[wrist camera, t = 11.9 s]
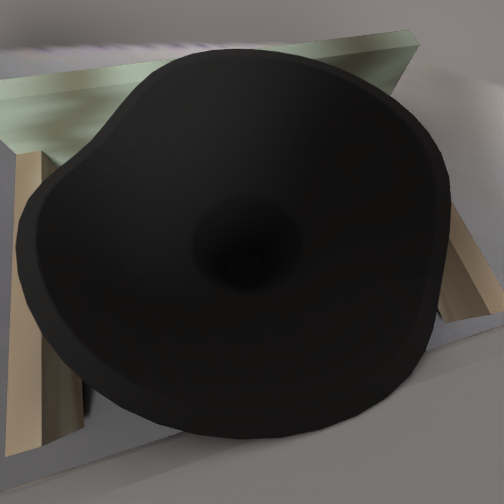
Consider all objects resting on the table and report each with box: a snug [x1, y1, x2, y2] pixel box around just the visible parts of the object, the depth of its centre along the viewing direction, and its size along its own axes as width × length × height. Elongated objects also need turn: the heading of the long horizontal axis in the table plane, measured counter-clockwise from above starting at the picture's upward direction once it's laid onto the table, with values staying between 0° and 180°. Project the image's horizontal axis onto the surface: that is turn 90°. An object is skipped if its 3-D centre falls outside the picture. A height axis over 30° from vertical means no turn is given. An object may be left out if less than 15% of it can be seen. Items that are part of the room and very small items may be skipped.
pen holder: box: [15, 49, 451, 440], centre depth 11 cm, size 9×9×10 cm
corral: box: [0, 30, 504, 457], centre depth 14 cm, size 21×15×6 cm
